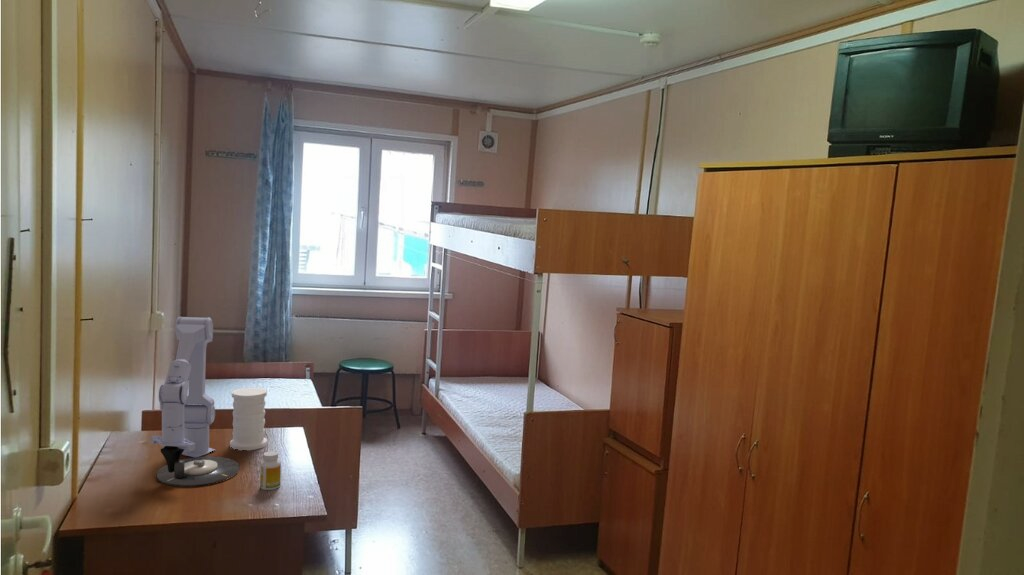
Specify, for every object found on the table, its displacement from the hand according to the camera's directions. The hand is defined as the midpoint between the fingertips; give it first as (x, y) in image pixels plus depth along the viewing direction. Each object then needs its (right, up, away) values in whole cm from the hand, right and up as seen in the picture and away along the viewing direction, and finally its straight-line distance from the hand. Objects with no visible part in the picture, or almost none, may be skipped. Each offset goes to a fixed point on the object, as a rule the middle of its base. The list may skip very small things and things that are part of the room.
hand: (172, 471), depth 200 cm
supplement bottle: (+28, -4, -1) cm, 29 cm away
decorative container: (+9, 0, +33) cm, 34 cm away
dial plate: (+4, -2, +7) cm, 8 cm away
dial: (+4, -1, +5) cm, 6 cm away
